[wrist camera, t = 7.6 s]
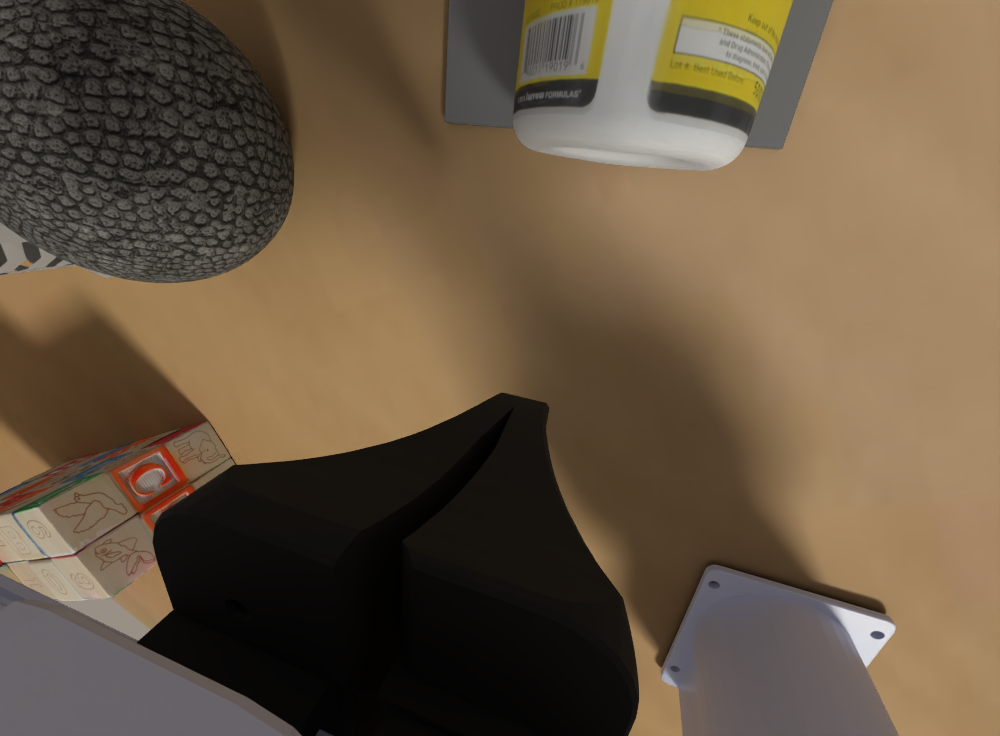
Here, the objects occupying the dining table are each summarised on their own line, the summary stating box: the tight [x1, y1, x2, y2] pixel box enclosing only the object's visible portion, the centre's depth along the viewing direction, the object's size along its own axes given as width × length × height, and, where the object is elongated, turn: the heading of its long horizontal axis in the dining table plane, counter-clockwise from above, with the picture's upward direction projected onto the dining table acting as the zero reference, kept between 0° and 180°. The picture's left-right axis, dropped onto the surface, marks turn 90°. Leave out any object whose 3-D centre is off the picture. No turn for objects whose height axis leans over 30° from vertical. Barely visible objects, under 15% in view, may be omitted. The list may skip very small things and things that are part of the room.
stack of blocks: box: [0, 421, 235, 601], centre depth 28 cm, size 21×6×12 cm, turn 113°
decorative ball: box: [0, 0, 294, 283], centre depth 15 cm, size 10×10×10 cm
